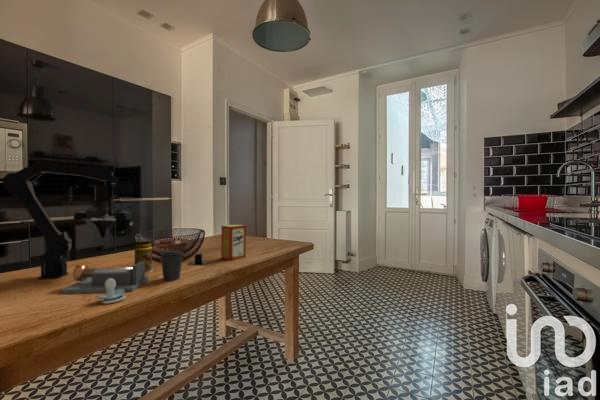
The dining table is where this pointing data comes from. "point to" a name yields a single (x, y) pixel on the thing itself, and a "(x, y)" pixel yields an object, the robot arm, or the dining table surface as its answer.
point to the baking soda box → (233, 242)
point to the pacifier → (112, 292)
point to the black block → (198, 259)
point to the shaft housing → (123, 279)
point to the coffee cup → (171, 264)
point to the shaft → (94, 271)
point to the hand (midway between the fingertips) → (103, 238)
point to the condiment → (144, 254)
